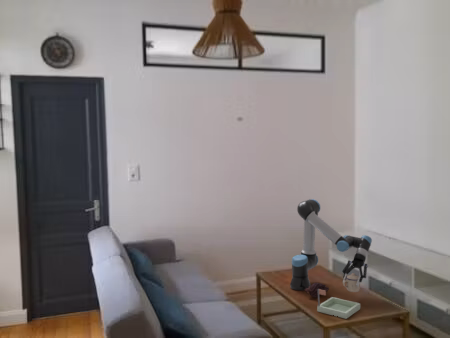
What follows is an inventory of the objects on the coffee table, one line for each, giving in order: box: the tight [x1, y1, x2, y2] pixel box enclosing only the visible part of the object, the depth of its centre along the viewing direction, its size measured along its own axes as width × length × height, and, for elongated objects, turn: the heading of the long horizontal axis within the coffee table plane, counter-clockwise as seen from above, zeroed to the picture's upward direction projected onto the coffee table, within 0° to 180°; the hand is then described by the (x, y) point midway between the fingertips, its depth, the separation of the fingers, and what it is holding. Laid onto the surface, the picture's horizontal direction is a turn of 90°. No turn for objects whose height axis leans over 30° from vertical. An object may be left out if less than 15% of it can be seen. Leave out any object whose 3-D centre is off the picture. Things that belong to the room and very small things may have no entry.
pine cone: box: [304, 282, 330, 298], centre depth 307 cm, size 18×10×10 cm, turn 101°
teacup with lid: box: [342, 272, 361, 293], centre depth 297 cm, size 12×9×12 cm
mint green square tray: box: [316, 289, 361, 320], centre depth 282 cm, size 20×20×14 cm
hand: (350, 284), depth 295 cm, fingers closed on teacup with lid, 9 cm apart
